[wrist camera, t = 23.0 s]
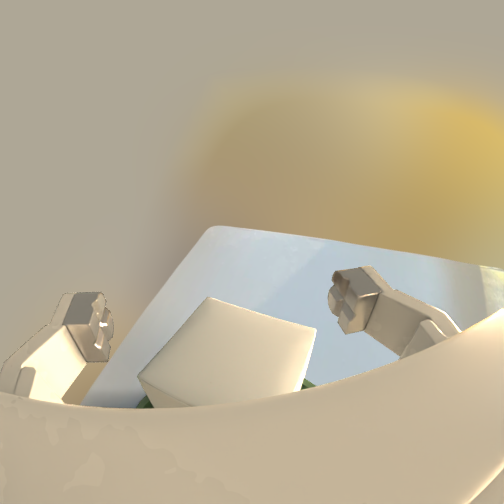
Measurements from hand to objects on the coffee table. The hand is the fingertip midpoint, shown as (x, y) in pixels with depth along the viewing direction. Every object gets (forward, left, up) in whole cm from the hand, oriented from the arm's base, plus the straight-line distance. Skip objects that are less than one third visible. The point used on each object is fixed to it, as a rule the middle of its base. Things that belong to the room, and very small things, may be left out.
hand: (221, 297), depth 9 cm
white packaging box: (0, +1, -18) cm, 18 cm away
